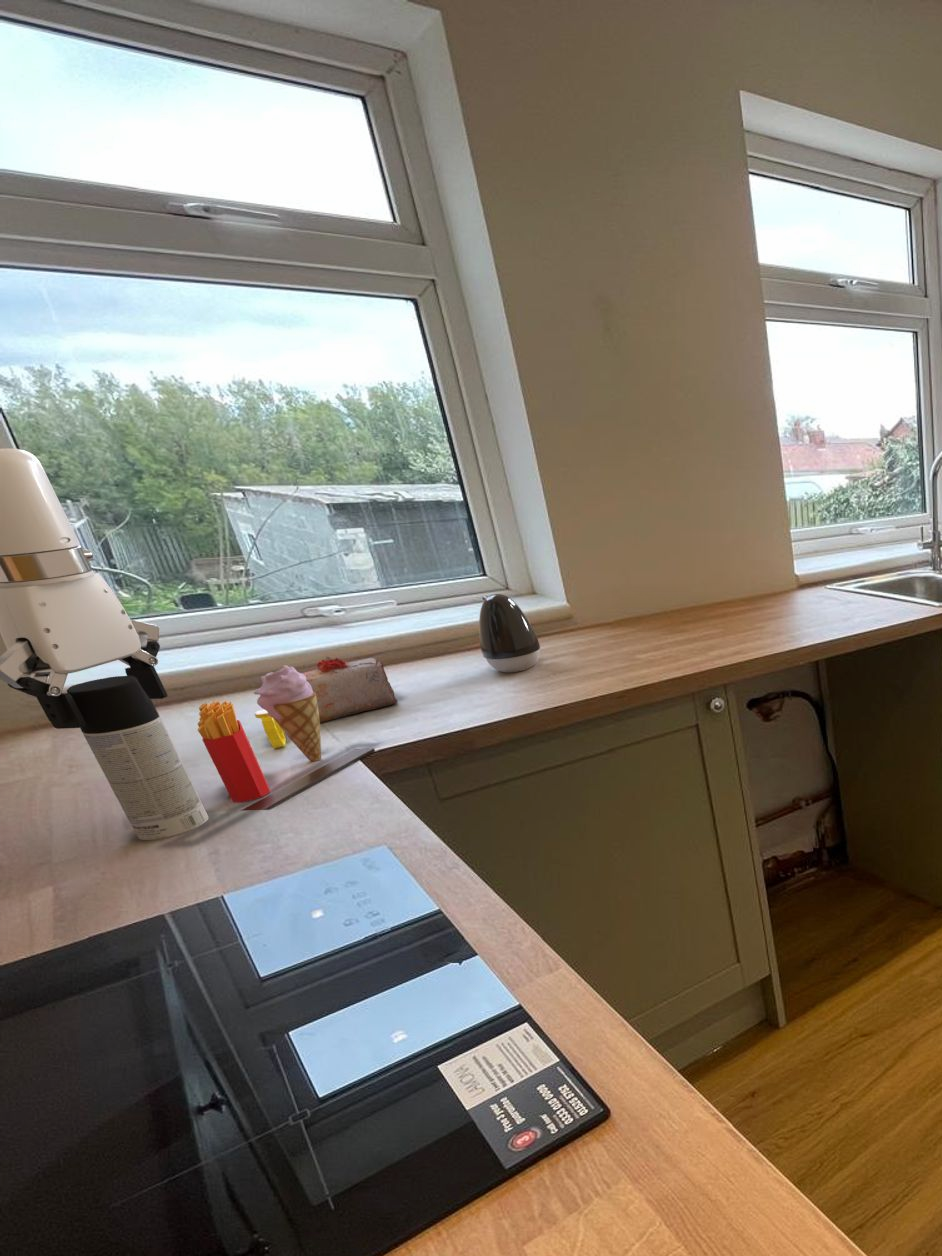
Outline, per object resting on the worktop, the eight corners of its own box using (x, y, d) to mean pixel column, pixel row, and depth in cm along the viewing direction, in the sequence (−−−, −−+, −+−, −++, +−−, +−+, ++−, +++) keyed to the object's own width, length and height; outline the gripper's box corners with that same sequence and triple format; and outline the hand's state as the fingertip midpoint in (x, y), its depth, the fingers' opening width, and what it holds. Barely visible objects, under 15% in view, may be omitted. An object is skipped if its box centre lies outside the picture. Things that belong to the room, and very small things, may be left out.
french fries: (228, 788, 115) (187, 702, 109) (267, 778, 117) (229, 694, 112) (232, 808, 108) (189, 718, 103) (273, 797, 111) (233, 708, 106)
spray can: (210, 815, 107) (140, 670, 99) (213, 831, 102) (139, 681, 94) (141, 833, 103) (61, 684, 95) (140, 852, 98) (57, 696, 90)
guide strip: (173, 850, 98) (171, 847, 98) (356, 751, 126) (355, 748, 125) (197, 849, 98) (195, 846, 98) (375, 751, 126) (374, 748, 125)
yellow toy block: (270, 742, 131) (255, 707, 129) (292, 737, 133) (277, 703, 130) (268, 753, 127) (252, 717, 124) (290, 748, 128) (275, 713, 126)
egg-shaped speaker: (529, 658, 171) (509, 586, 165) (554, 665, 165) (534, 591, 159) (478, 671, 163) (455, 597, 157) (502, 679, 157) (479, 602, 151)
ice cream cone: (315, 769, 120) (274, 672, 114) (274, 770, 120) (231, 674, 114) (349, 751, 126) (312, 658, 120) (310, 752, 126) (271, 660, 120)
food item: (307, 728, 136) (284, 672, 132) (297, 718, 141) (275, 664, 137) (401, 705, 146) (382, 652, 142) (389, 696, 151) (370, 645, 147)
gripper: (89, 555, 98) (154, 689, 104) (-90, 585, 82) (0, 741, 89) (149, 552, 97) (210, 687, 104) (-18, 582, 82) (67, 739, 88)
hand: (114, 712), depth 96 cm, fingers open, 9 cm apart
